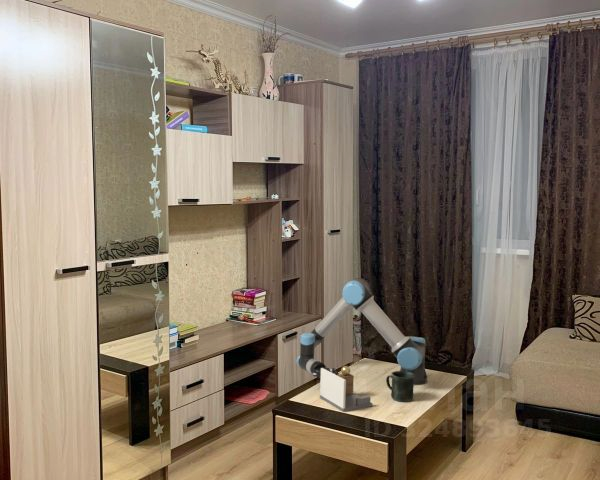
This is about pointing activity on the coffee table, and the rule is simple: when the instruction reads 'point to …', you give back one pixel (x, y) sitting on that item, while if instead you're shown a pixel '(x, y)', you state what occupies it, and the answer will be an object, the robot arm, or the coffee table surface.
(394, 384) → the mug
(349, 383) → the slider
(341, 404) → the stand
